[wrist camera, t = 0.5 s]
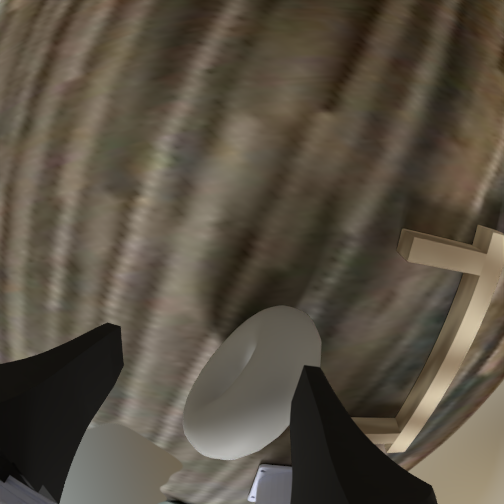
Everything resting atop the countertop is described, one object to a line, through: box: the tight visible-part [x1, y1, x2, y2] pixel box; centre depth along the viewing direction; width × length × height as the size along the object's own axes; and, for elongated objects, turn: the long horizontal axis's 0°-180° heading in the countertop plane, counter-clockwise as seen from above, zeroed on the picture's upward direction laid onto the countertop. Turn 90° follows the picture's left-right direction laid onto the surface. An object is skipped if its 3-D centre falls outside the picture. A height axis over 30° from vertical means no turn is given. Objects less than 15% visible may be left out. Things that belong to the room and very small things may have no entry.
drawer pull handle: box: [351, 225, 504, 453], centre depth 20 cm, size 21×8×2 cm, turn 172°
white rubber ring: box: [183, 305, 322, 460], centre depth 17 cm, size 10×3×10 cm, turn 140°
